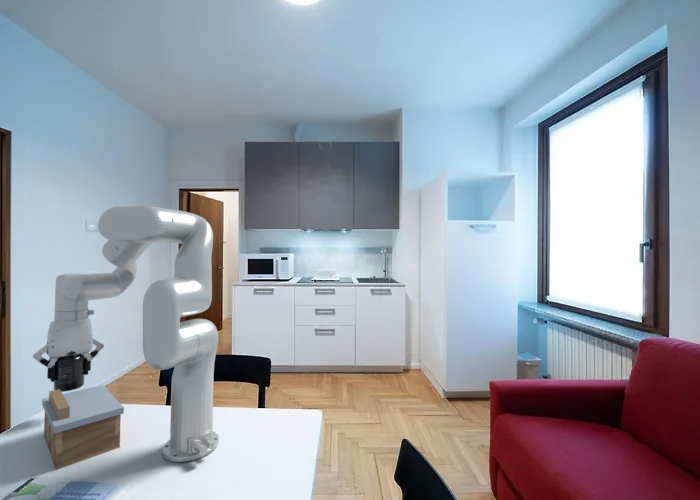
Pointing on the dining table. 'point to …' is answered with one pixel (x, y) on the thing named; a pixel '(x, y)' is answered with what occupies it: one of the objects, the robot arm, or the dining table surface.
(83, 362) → the supplement bottle
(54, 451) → the toolbox
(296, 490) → the dining table surface
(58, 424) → the toolbox lid
